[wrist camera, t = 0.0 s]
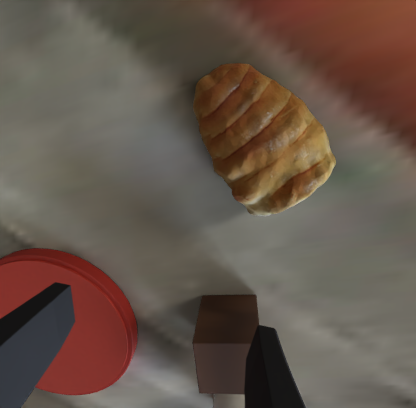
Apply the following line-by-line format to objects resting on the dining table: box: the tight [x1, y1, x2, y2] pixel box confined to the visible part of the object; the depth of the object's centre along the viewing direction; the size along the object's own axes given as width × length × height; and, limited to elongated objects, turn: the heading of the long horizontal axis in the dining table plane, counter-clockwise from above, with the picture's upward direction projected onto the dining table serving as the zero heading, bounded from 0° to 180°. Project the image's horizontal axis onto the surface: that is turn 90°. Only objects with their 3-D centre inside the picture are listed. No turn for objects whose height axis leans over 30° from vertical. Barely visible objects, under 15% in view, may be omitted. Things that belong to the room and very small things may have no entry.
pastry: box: [193, 63, 336, 216], centre depth 16 cm, size 9×7×4 cm
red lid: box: [0, 248, 137, 395], centre depth 24 cm, size 17×15×1 cm
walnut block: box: [192, 295, 259, 395], centre depth 20 cm, size 4×4×5 cm
